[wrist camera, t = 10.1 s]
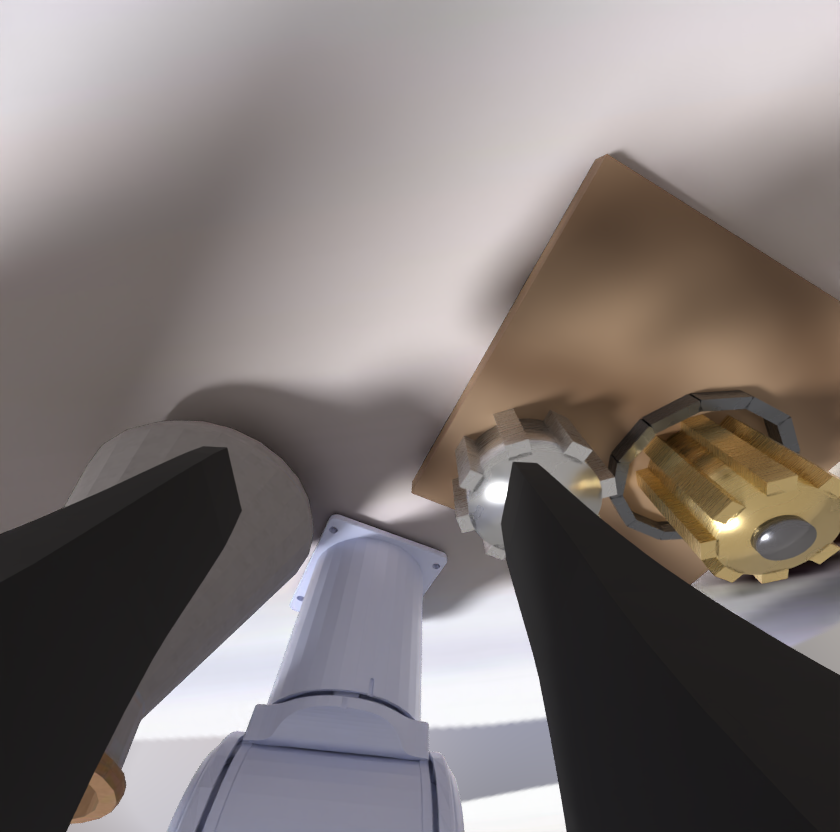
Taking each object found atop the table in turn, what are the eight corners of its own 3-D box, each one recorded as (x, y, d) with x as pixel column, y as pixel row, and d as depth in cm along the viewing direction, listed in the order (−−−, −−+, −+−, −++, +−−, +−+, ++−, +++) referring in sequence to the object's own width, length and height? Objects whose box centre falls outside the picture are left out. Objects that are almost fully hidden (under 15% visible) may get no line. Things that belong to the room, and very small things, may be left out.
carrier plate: (668, 582, 24) (677, 595, 23) (412, 482, 21) (411, 492, 20) (921, 363, 17) (949, 370, 16) (595, 159, 14) (607, 154, 13)
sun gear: (538, 536, 21) (558, 589, 18) (429, 493, 20) (429, 542, 16) (618, 441, 18) (659, 485, 15) (495, 384, 17) (511, 418, 14)
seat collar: (693, 547, 21) (702, 558, 20) (573, 497, 20) (579, 506, 19) (822, 433, 18) (839, 442, 17) (687, 361, 16) (699, 367, 15)
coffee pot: (136, 363, 18) (-763, 745, 4) (352, 445, 20) (189, 889, 6) (116, 612, 27) (-202, 990, 13) (266, 652, 28) (122, 1019, 15)
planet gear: (696, 518, 20) (781, 606, 15) (613, 484, 19) (676, 566, 14) (779, 439, 18) (911, 514, 13) (689, 396, 17) (795, 459, 12)
